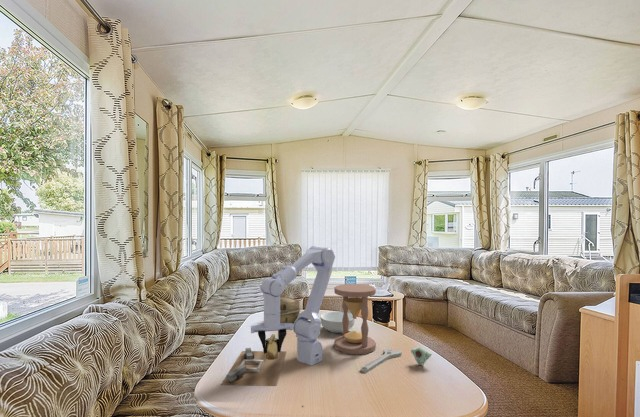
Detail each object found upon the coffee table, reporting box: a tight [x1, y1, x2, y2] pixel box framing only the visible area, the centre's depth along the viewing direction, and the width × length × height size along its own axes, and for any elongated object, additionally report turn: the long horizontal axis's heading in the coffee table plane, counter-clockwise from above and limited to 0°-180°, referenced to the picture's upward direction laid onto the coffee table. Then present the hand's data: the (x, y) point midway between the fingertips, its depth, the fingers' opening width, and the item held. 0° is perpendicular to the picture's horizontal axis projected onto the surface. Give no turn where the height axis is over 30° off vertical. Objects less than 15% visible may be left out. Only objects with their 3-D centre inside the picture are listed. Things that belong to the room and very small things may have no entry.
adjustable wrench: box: [360, 347, 403, 374], centre depth 131 cm, size 25×6×2 cm, turn 134°
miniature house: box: [280, 296, 301, 325], centre depth 180 cm, size 15×14×11 cm
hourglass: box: [333, 283, 377, 355], centre depth 146 cm, size 18×18×25 cm
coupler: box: [266, 334, 278, 360], centre depth 119 cm, size 5×4×7 cm
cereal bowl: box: [319, 310, 356, 334], centre depth 167 cm, size 17×17×7 cm
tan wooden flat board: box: [220, 347, 287, 387], centre depth 123 cm, size 18×28×4 cm, turn 179°
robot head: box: [410, 346, 433, 366], centre depth 127 cm, size 8×4×7 cm, turn 52°
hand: (272, 351), depth 119 cm, fingers closed on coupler, 4 cm apart
